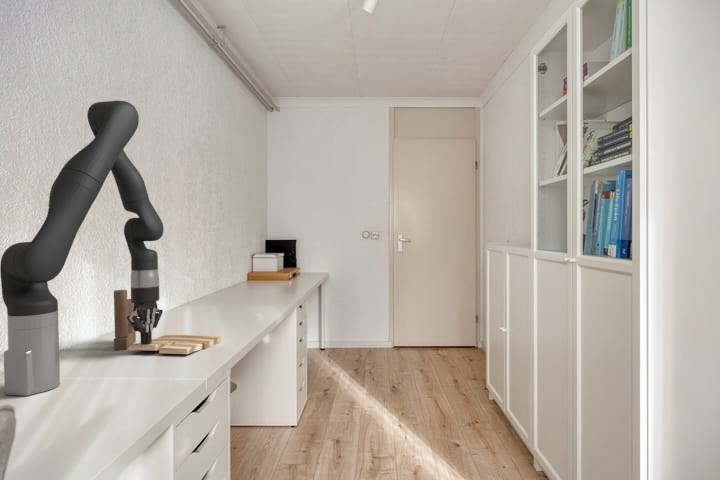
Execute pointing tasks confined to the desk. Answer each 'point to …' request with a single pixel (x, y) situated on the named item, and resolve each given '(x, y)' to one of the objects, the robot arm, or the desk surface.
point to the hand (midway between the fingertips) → (146, 344)
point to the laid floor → (189, 339)
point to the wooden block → (123, 321)
